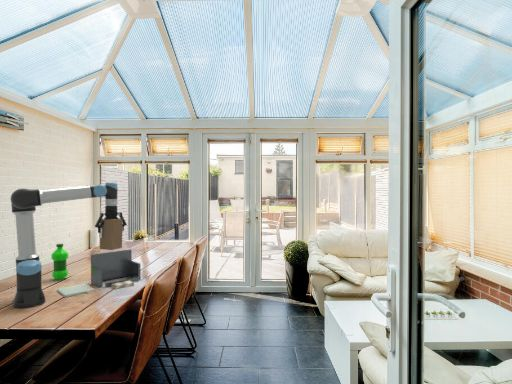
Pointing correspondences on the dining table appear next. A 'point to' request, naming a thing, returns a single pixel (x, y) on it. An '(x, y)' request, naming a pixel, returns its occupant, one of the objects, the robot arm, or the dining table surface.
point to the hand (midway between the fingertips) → (111, 237)
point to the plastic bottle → (59, 262)
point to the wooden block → (111, 234)
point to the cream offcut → (122, 284)
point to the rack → (114, 267)
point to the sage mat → (75, 290)
